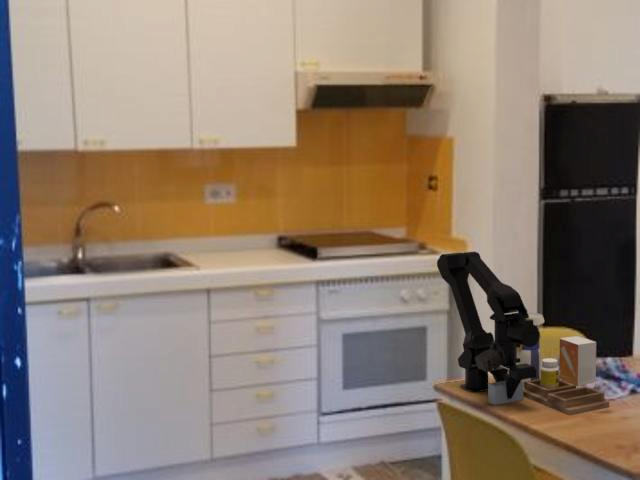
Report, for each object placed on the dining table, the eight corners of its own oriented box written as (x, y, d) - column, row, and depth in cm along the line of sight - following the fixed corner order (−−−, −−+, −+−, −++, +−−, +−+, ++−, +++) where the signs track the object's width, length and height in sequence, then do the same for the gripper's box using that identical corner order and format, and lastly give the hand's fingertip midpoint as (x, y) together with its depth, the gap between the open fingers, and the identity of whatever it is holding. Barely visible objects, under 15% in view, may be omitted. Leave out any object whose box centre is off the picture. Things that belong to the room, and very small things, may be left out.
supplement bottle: (559, 393, 235) (559, 362, 234) (540, 393, 236) (540, 362, 235) (558, 388, 239) (558, 357, 238) (540, 387, 240) (540, 357, 239)
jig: (518, 394, 239) (518, 382, 239) (556, 386, 245) (556, 375, 244) (569, 414, 221) (569, 402, 221) (609, 406, 227) (609, 394, 226)
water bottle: (524, 388, 244) (525, 298, 240) (506, 381, 251) (507, 293, 248) (549, 385, 247) (550, 296, 243) (531, 377, 254) (532, 291, 251)
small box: (558, 383, 248) (558, 338, 246) (577, 380, 250) (577, 335, 249) (577, 391, 240) (578, 344, 239) (596, 388, 243) (597, 341, 241)
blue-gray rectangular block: (488, 402, 233) (488, 383, 233) (515, 396, 237) (516, 378, 236) (495, 405, 231) (495, 386, 230) (523, 399, 234) (523, 381, 234)
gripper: (459, 335, 237) (459, 392, 239) (502, 350, 220) (502, 411, 222) (493, 330, 241) (493, 386, 243) (538, 344, 225) (538, 404, 227)
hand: (505, 397), depth 234 cm, fingers closed on blue-gray rectangular block, 3 cm apart
